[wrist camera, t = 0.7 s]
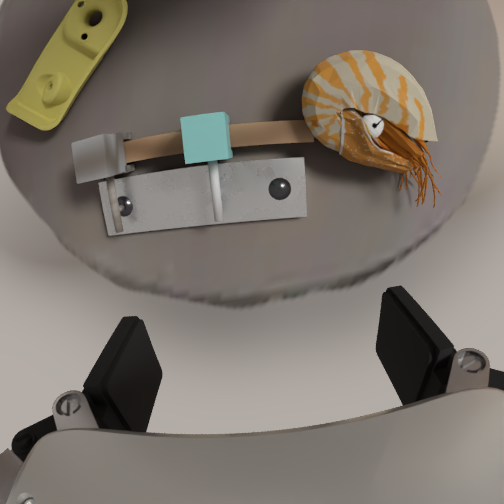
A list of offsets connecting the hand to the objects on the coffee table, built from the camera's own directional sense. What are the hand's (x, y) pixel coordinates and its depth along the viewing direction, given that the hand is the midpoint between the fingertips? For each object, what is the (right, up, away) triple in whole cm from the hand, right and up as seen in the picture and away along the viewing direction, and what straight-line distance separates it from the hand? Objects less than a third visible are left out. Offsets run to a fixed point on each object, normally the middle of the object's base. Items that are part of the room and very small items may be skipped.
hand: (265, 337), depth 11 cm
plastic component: (-24, +29, +17) cm, 41 cm away
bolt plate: (-7, +10, +24) cm, 27 cm away
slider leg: (-5, +13, +22) cm, 26 cm away
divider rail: (-6, +13, +23) cm, 27 cm away
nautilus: (+14, +17, +21) cm, 31 cm away
